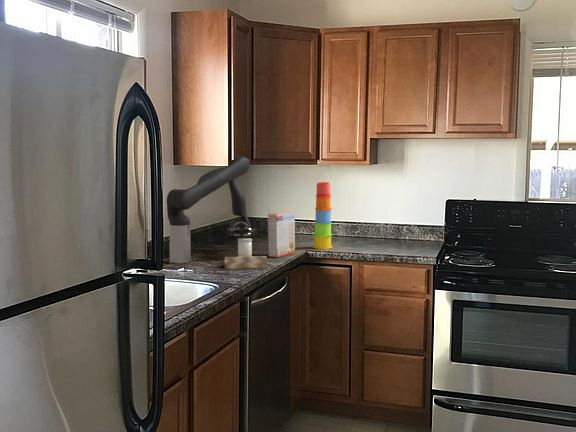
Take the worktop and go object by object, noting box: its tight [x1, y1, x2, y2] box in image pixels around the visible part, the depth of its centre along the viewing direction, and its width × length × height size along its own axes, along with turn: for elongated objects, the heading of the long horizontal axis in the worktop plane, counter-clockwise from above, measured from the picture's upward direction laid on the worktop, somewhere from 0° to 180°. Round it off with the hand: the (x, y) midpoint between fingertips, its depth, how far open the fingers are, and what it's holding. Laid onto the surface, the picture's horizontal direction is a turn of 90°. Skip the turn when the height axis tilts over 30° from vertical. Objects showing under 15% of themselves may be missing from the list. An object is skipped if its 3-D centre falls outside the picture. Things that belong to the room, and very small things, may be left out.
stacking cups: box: [312, 181, 333, 250], centre depth 326 cm, size 10×10×35 cm
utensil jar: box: [237, 237, 253, 257], centre depth 273 cm, size 6×6×12 cm
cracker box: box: [267, 211, 296, 258], centre depth 302 cm, size 14×6×21 cm, turn 141°
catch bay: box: [224, 255, 268, 270], centre depth 273 cm, size 18×11×5 cm, turn 97°
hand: (242, 233), depth 285 cm, fingers open, 8 cm apart
